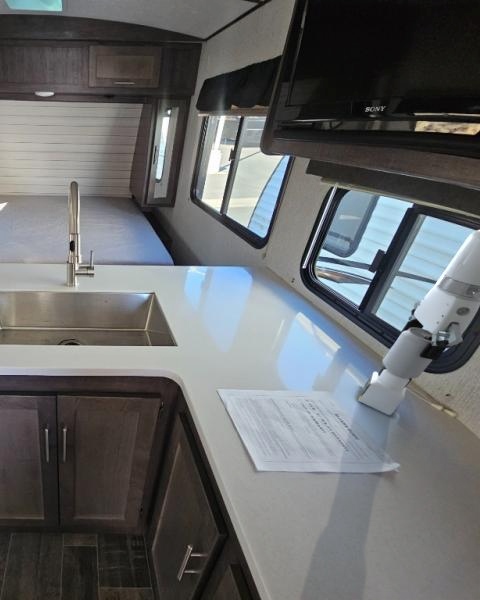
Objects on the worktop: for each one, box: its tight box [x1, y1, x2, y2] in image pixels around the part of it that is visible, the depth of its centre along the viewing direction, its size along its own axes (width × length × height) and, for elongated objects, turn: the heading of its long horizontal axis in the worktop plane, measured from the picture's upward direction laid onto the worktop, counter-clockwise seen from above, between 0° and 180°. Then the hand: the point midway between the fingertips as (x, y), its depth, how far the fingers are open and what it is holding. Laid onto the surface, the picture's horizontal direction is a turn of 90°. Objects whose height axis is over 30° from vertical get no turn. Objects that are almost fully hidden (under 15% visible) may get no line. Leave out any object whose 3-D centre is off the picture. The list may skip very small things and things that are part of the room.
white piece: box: [358, 364, 413, 416], centre depth 88 cm, size 7×7×12 cm
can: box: [382, 327, 443, 379], centre depth 81 cm, size 8×8×12 cm
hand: (417, 346), depth 80 cm, fingers open, 9 cm apart
